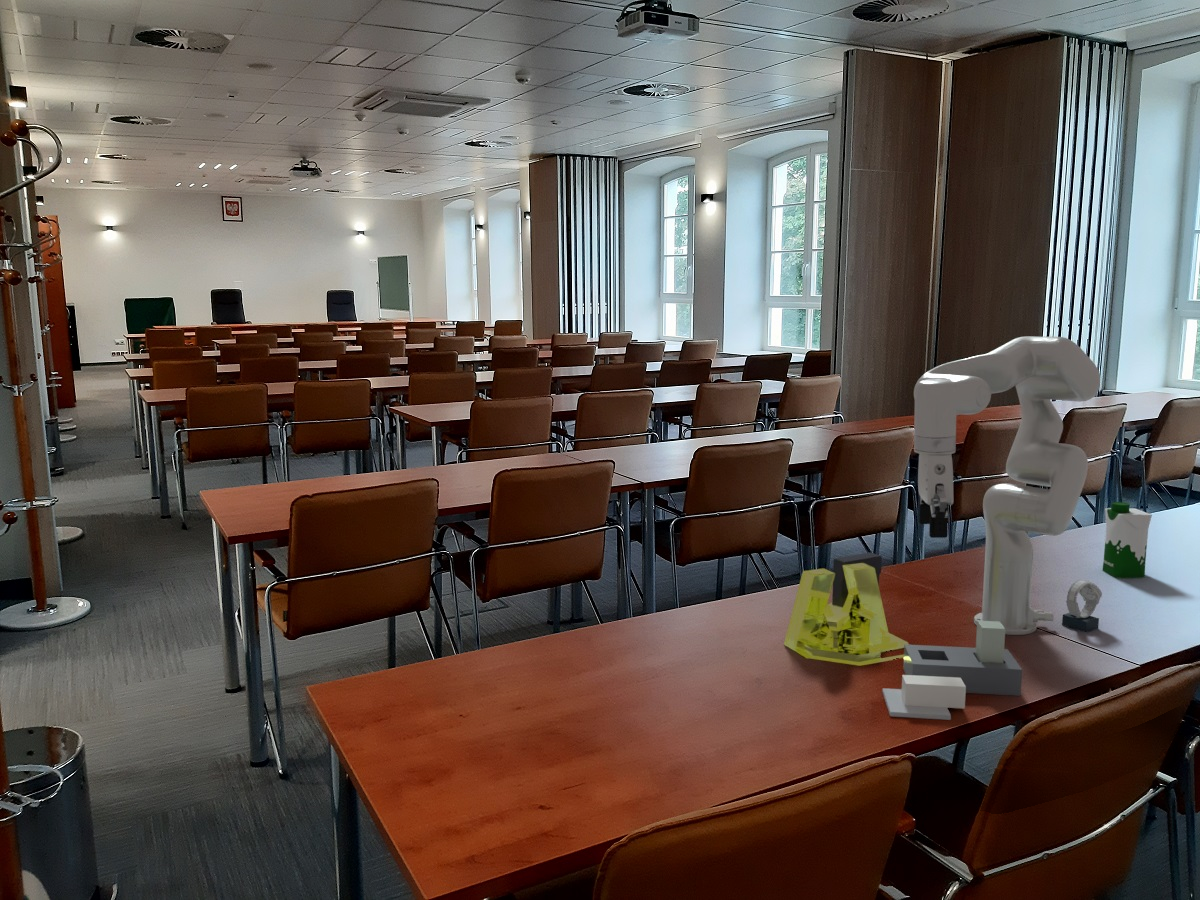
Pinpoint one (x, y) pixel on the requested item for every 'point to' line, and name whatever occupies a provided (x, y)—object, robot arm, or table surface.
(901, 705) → the mat
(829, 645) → the crystal
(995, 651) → the sage plug
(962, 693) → the white plug
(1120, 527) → the milk carton
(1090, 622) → the watch
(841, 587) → the black block
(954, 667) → the plate
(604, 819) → the table surface
